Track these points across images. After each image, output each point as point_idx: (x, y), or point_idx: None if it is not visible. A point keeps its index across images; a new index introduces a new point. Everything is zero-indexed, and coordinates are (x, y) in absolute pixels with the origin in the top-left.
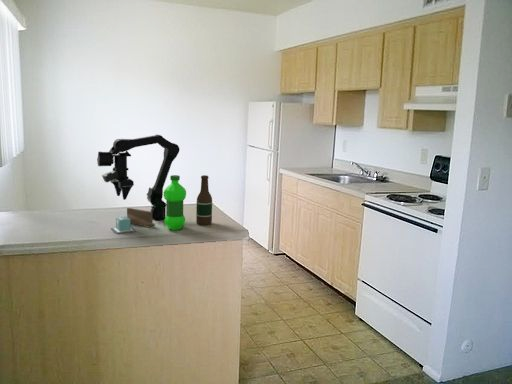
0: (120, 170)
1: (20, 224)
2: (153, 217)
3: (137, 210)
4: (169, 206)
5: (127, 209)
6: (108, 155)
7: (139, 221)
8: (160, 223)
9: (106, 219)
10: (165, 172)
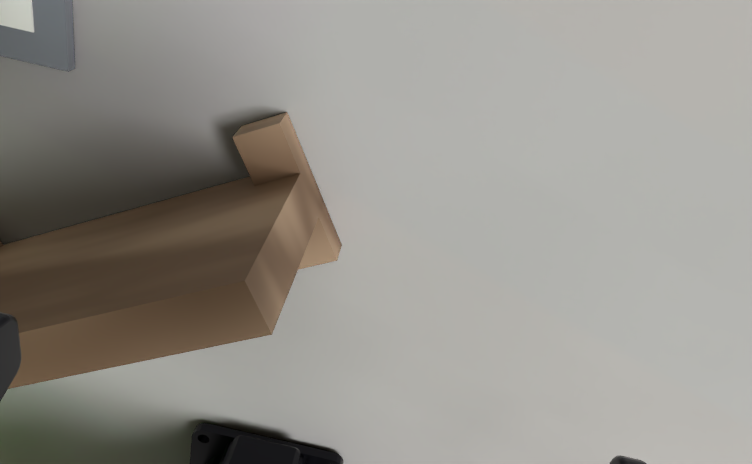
0: None
1: None
2: (231, 450)
3: (24, 330)
4: None
5: (239, 272)
6: None
7: (88, 237)
8: (66, 395)
9: (700, 4)
10: None
